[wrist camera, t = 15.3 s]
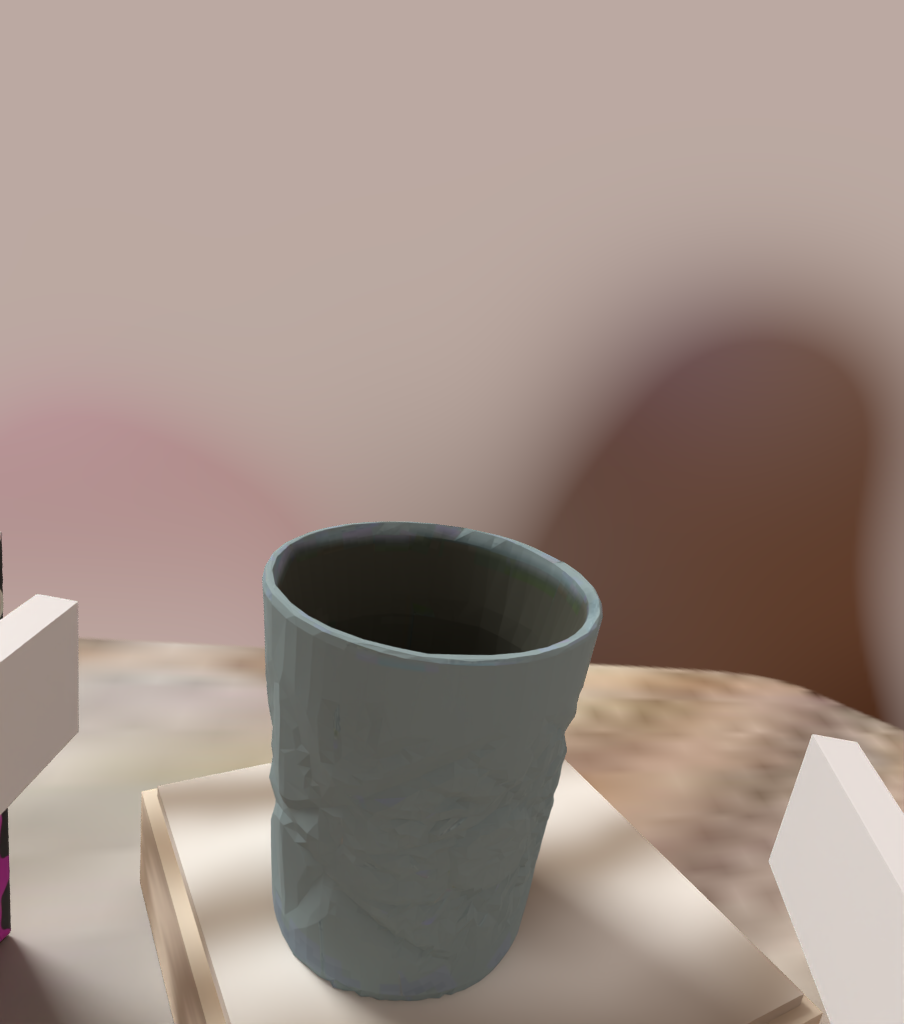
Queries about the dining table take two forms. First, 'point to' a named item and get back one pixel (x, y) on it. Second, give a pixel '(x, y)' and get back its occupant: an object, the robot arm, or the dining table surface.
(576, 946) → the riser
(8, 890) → the candy bar box
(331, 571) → the grey green cup
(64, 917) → the dining table surface
